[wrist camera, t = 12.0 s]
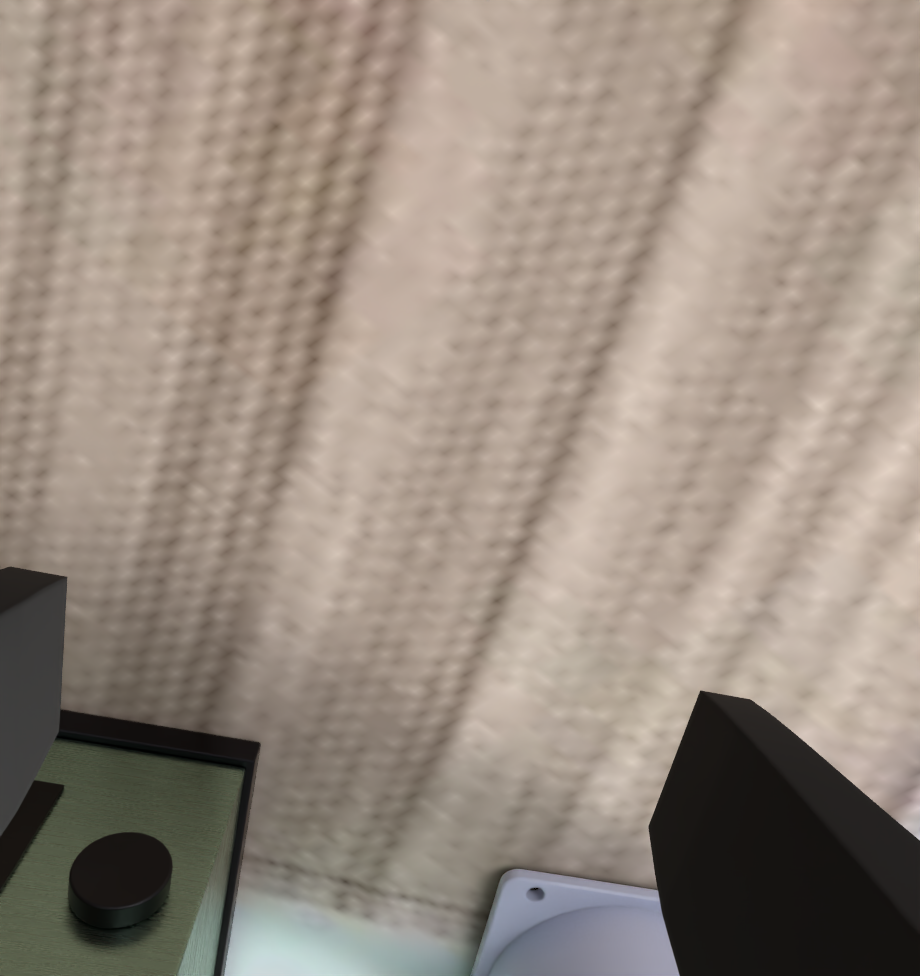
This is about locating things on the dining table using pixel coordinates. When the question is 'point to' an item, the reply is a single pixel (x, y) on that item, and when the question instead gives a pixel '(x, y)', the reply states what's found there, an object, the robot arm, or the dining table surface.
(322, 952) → the dining table surface
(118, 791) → the toaster
